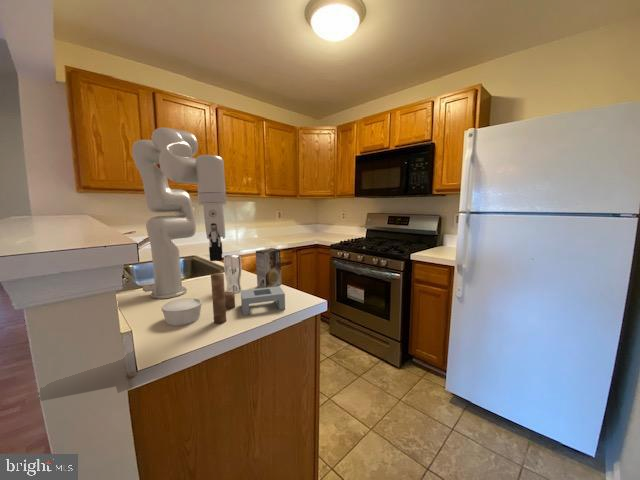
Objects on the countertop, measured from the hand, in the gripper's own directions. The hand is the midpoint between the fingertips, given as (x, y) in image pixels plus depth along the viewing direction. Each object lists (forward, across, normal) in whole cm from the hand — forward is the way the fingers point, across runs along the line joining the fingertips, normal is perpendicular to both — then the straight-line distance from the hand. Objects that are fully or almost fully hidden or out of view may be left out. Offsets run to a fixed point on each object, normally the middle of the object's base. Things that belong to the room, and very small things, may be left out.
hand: (216, 257), depth 80 cm
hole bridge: (+20, +8, -14) cm, 26 cm away
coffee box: (+20, +32, -20) cm, 42 cm away
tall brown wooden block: (+20, +1, 0) cm, 20 cm away
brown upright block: (+20, +12, -3) cm, 23 cm away
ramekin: (+20, +6, +11) cm, 24 cm away
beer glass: (+20, +30, -5) cm, 36 cm away
